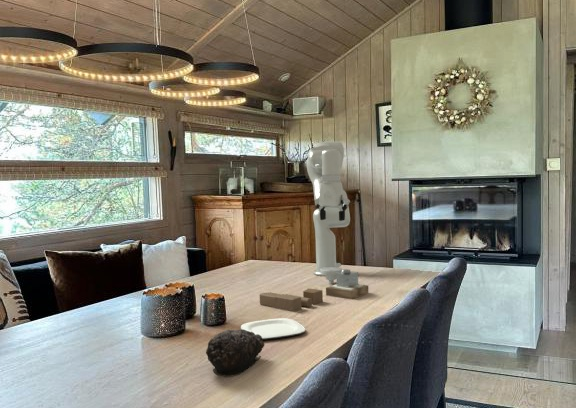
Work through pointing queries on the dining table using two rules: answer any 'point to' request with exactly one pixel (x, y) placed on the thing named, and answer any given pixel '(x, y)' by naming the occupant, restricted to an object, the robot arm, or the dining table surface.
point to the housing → (347, 278)
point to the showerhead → (330, 273)
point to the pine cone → (234, 351)
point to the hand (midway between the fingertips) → (332, 220)
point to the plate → (274, 328)
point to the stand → (347, 291)
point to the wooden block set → (292, 300)
